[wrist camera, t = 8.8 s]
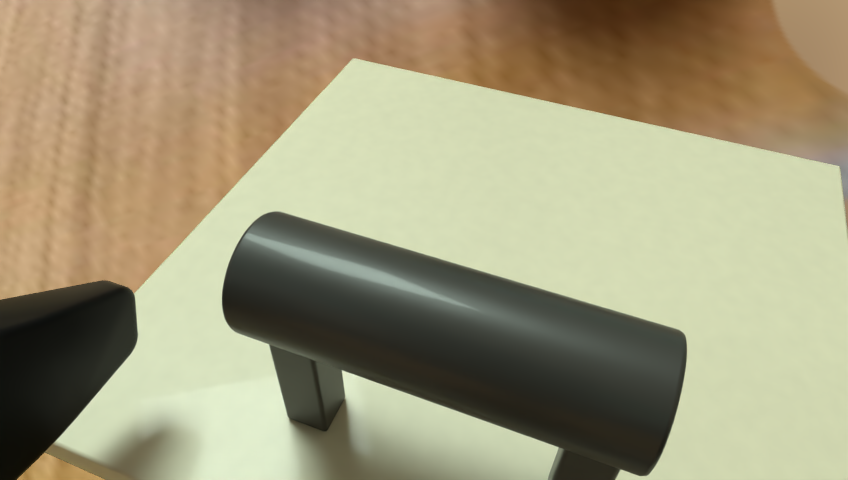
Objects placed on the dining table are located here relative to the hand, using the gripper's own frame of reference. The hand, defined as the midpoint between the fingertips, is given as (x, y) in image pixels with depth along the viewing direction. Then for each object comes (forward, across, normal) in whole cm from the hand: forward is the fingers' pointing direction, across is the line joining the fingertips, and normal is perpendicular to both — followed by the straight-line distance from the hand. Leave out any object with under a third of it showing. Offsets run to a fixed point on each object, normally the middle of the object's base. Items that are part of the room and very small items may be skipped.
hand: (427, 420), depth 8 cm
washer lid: (+5, 0, +1) cm, 5 cm away
